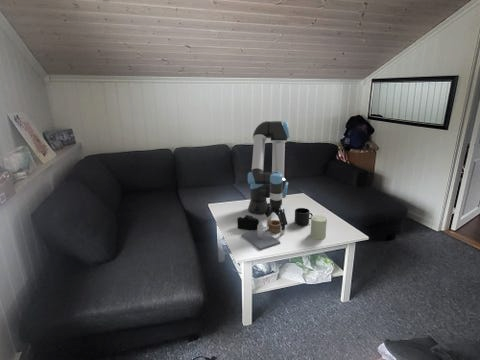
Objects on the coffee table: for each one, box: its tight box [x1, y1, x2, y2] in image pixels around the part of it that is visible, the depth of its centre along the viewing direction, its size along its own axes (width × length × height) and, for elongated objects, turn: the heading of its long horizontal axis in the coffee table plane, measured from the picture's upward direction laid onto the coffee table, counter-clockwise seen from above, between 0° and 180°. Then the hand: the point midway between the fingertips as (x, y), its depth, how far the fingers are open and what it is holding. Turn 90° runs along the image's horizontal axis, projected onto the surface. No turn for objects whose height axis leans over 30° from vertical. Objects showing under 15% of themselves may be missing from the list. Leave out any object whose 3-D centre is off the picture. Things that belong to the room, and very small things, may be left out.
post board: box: [241, 221, 281, 251], centre depth 174 cm, size 20×14×11 cm
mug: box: [294, 207, 314, 227], centre depth 194 cm, size 9×12×9 cm
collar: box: [267, 219, 281, 234], centre depth 186 cm, size 8×8×5 cm
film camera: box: [236, 214, 261, 232], centre depth 190 cm, size 15×10×9 cm, turn 71°
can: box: [309, 214, 328, 240], centre depth 177 cm, size 9×9×12 cm
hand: (275, 230), depth 186 cm, fingers open, 13 cm apart
